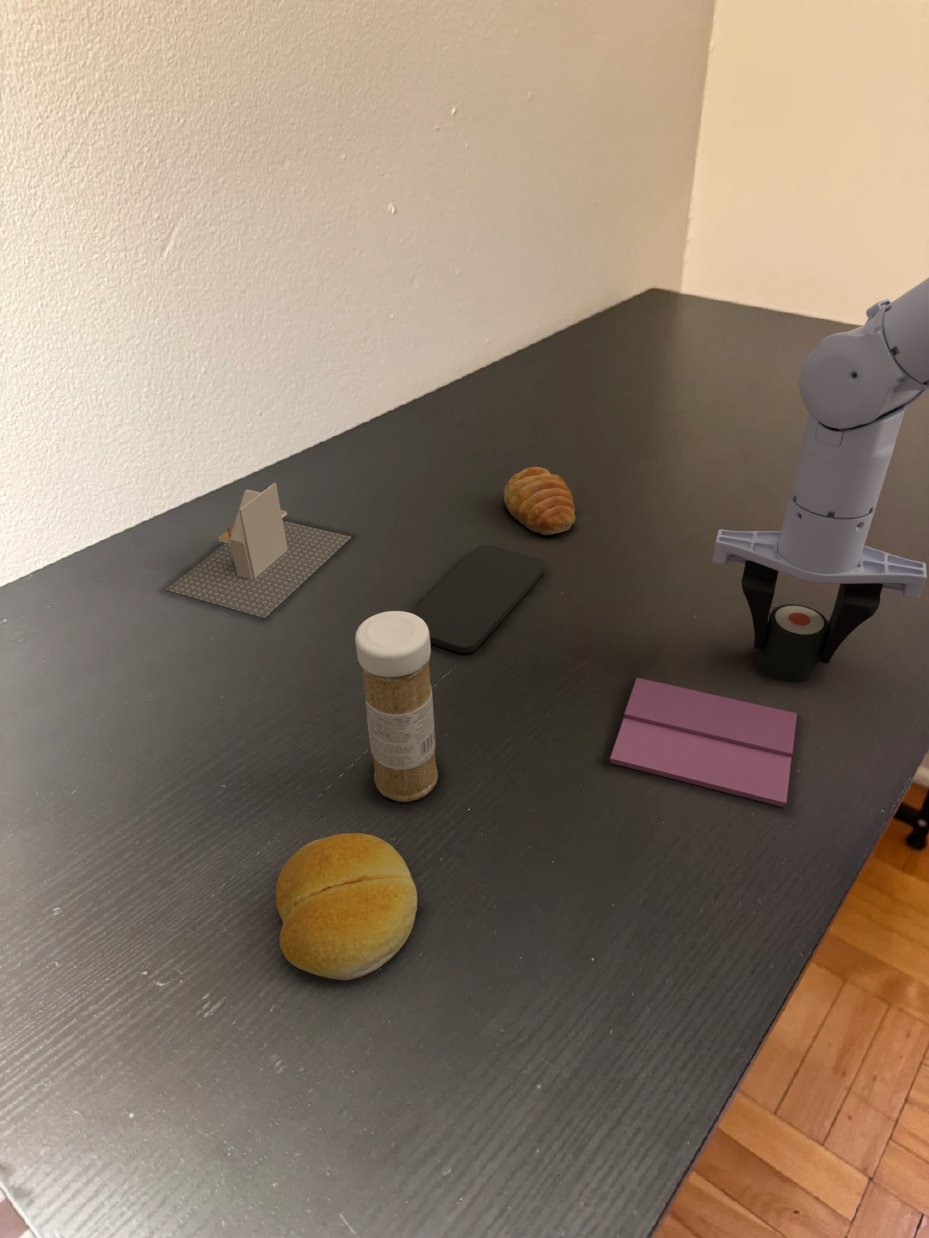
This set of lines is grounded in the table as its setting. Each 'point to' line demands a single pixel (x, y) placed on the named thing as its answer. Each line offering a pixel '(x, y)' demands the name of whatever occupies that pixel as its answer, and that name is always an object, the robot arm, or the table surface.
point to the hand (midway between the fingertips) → (791, 649)
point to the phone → (477, 596)
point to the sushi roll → (793, 642)
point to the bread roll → (345, 905)
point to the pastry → (540, 501)
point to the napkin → (707, 741)
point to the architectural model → (259, 558)
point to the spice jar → (399, 703)
